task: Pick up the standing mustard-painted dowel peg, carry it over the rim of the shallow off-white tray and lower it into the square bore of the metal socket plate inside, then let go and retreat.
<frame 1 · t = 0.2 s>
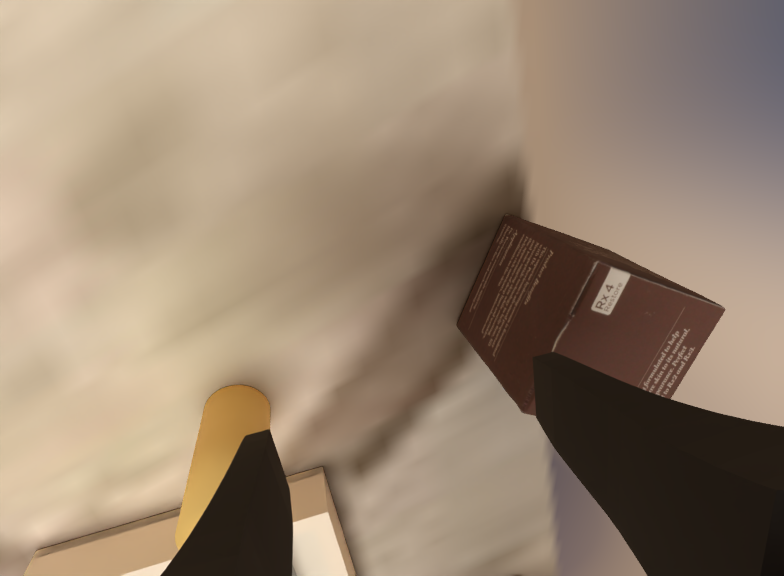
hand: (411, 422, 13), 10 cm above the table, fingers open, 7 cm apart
box: (527, 284, 24), on the table
peg: (237, 412, 23), on the table
tray: (216, 573, 27), on the table
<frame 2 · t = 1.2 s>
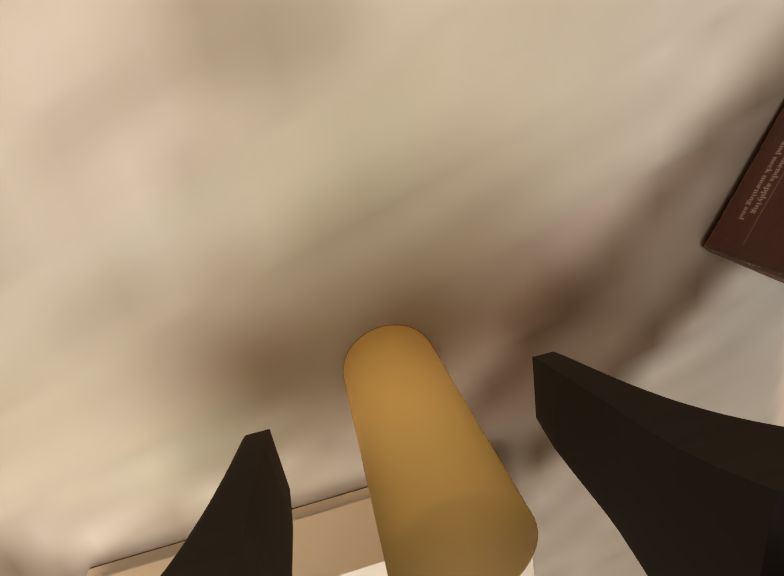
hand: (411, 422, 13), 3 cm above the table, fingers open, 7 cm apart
peg: (390, 367, 16), on the table
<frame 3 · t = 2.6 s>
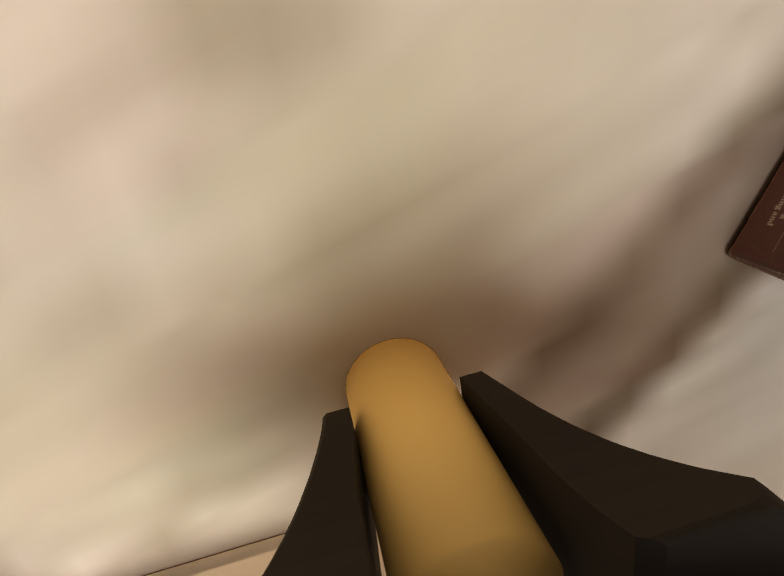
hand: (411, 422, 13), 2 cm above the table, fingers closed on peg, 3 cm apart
peg: (395, 383, 15), on the table, touching gripper
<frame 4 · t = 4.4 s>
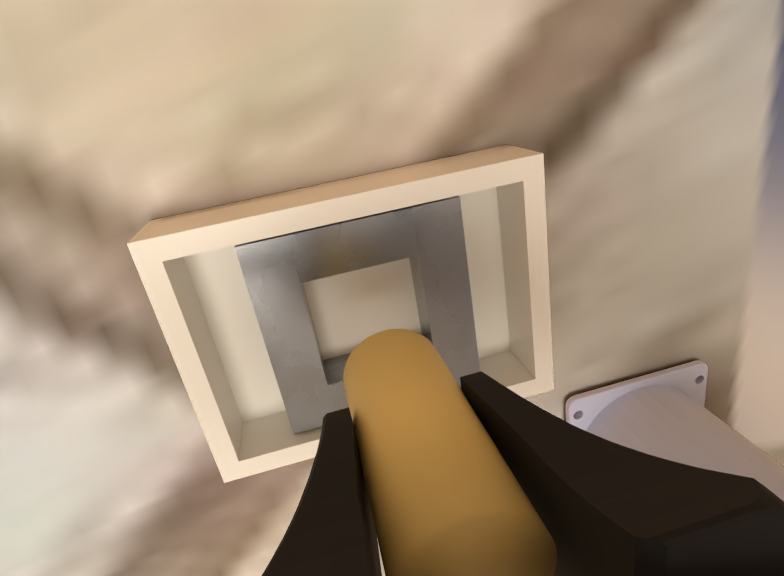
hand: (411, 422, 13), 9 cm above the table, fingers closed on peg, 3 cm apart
socket plate: (367, 311, 20), in the tray
peg: (392, 373, 15), point 7 cm above the table, touching gripper
tray: (361, 297, 21), on the table
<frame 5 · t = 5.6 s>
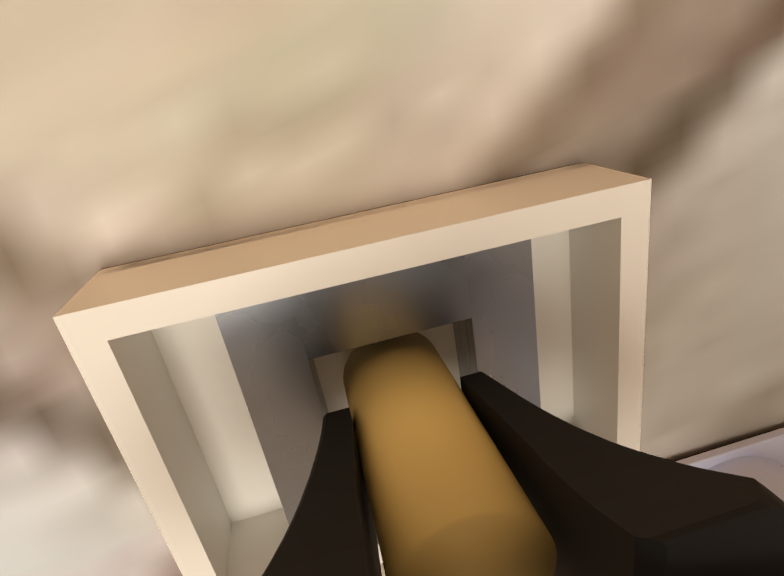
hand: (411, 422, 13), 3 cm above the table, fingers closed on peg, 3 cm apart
socket plate: (397, 387, 15), in the tray
peg: (392, 373, 15), point 1 cm above the table, touching gripper
tray: (387, 361, 16), on the table
when the fingers open (3 cm above the table, at t = 6.6 s): peg stays where it is, resting on tray.
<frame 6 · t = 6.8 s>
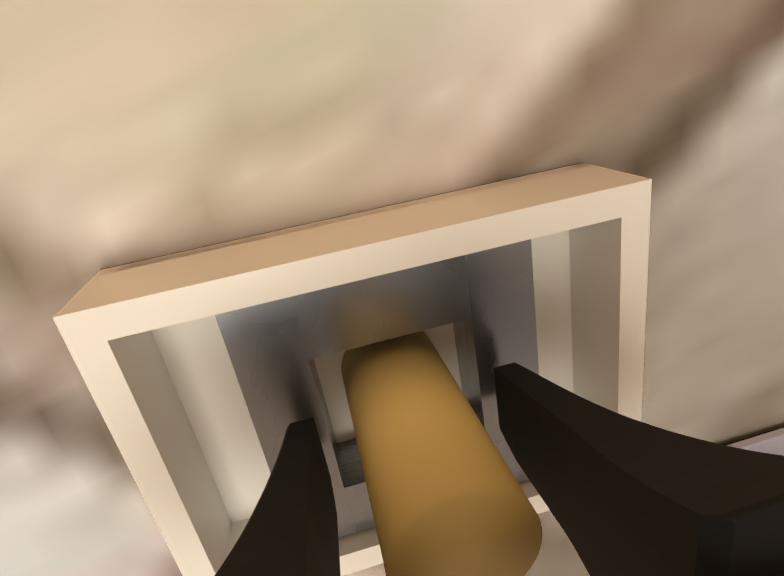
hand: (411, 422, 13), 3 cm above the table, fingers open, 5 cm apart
socket plate: (397, 387, 15), in the tray, point 1 cm above the table
peg: (389, 364, 15), point 1 cm above the table, touching tray
tray: (387, 361, 16), on the table
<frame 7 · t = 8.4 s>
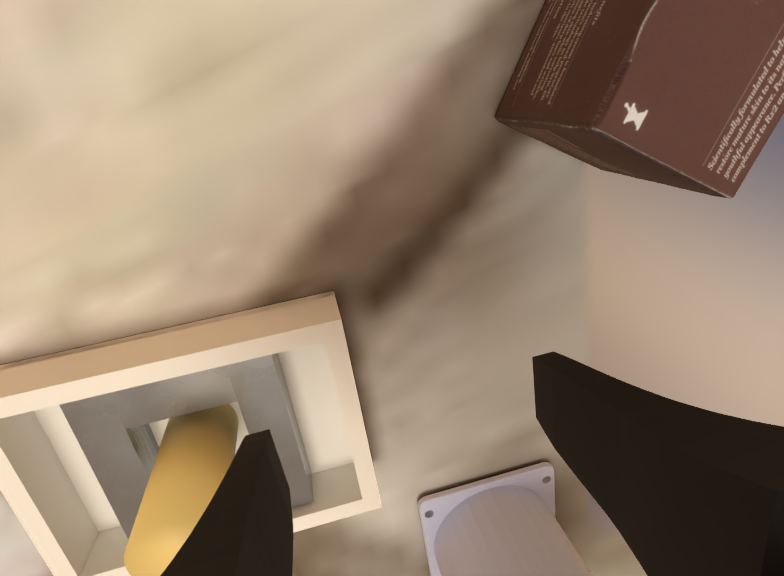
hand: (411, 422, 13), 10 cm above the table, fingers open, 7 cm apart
socket plate: (202, 441, 22), in the tray
box: (577, 77, 21), on the table
peg: (204, 424, 22), point 1 cm above the table, touching tray
tray: (207, 420, 23), on the table
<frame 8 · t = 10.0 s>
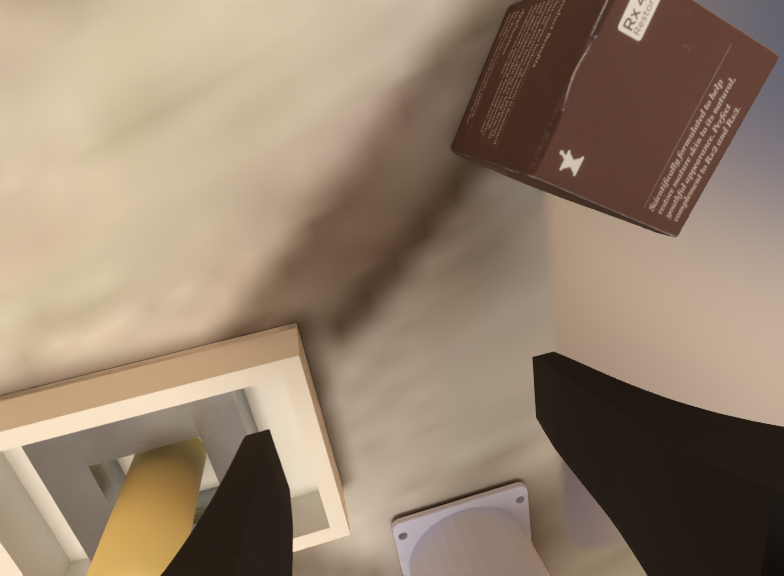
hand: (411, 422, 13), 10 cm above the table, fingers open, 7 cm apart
socket plate: (168, 474, 22), in the tray
box: (534, 107, 21), on the table
peg: (171, 455, 23), point 1 cm above the table, touching tray
tray: (175, 452, 23), on the table
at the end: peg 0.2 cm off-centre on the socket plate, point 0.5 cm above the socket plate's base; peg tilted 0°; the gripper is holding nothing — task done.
